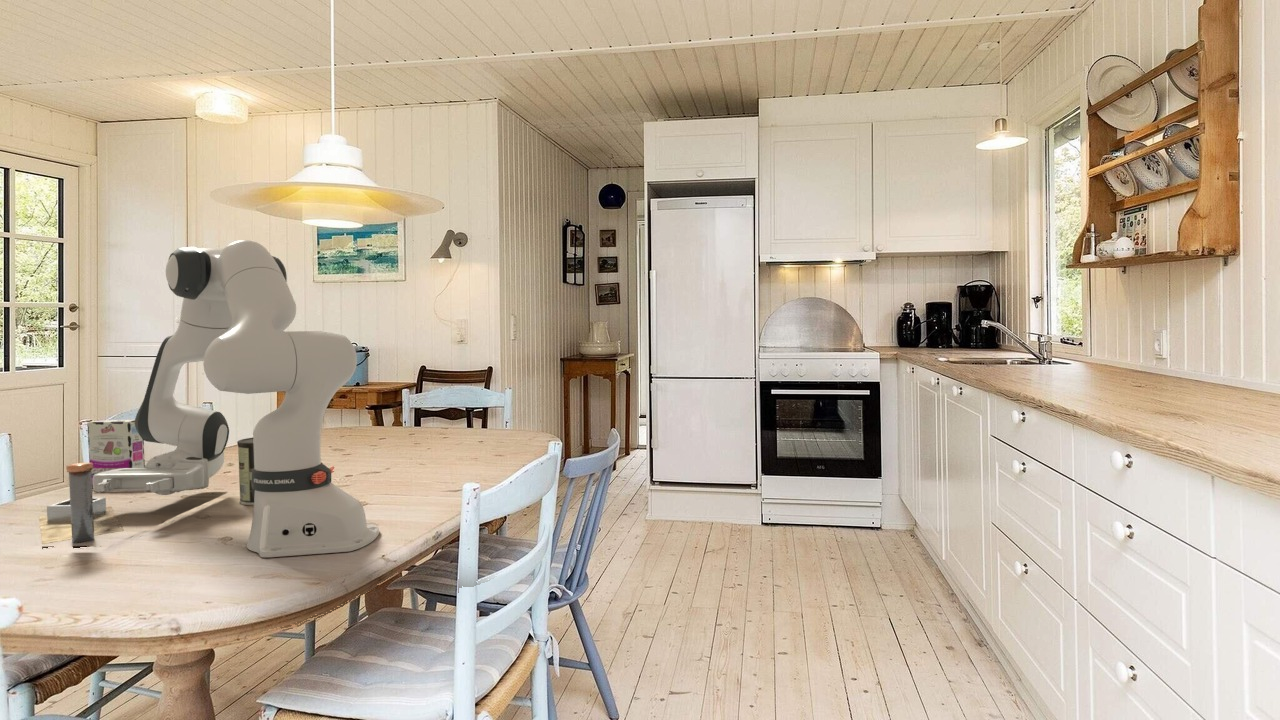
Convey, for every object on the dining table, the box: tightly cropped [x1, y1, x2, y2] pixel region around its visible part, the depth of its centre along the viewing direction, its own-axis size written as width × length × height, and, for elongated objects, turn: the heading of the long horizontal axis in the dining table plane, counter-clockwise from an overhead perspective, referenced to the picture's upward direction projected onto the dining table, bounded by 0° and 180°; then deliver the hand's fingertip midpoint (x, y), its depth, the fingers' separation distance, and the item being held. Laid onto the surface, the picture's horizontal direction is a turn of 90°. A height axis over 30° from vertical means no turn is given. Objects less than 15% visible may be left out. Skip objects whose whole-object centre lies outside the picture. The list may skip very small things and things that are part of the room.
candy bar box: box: [86, 419, 146, 486], centre depth 179 cm, size 11×5×16 cm, turn 87°
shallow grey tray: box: [46, 497, 107, 521], centre depth 146 cm, size 7×7×3 cm
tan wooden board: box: [38, 506, 124, 550], centre depth 141 cm, size 24×12×1 cm, turn 41°
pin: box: [65, 462, 95, 549], centre depth 129 cm, size 4×4×15 cm
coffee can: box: [237, 437, 254, 506], centre depth 163 cm, size 10×10×14 cm
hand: (124, 488), depth 141 cm, fingers open, 8 cm apart
